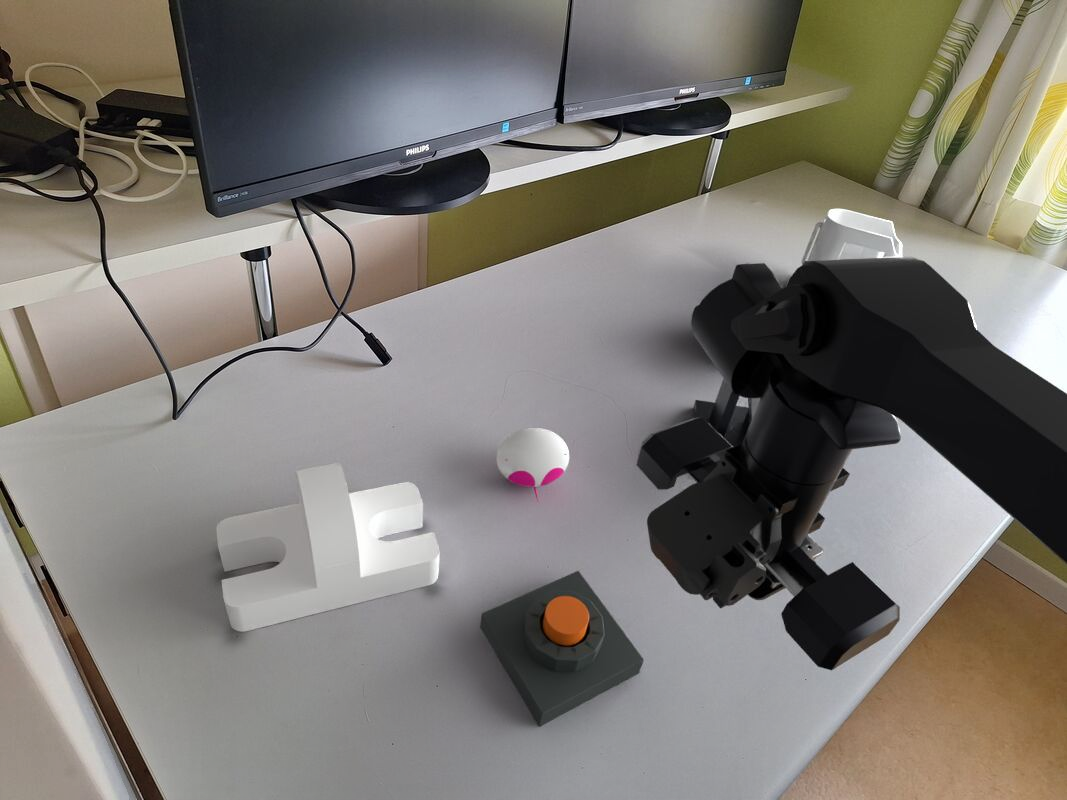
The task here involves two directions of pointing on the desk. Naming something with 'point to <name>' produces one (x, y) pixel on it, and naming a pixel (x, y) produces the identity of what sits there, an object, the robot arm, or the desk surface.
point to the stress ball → (532, 457)
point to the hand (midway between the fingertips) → (721, 602)
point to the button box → (559, 650)
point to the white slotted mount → (324, 550)
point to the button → (565, 620)
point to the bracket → (725, 415)
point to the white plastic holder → (852, 237)
